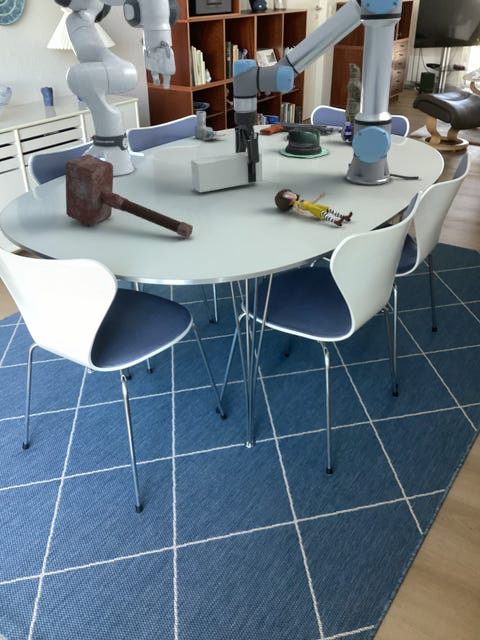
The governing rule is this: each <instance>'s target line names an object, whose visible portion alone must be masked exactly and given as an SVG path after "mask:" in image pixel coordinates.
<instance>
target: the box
mask: <svg viewBox="0 0 480 640" xmlns="http://www.w3.org/2000/svg"><path fill="white" fill-rule="evenodd" d="M247 163H249V159H248V153H247V150H246V152H240V153H235V152H234V153H228V154H220V155H215V156H209V157H203V158H202V157H201V158H195V159H191V160H190V164H191V165H190V166H191V177H192V188H193V189H194V190H196V191H197V192H198V193H205V192H210V191H216V190H221V189H222V190H223V189H227V188H232V187H238V186H239V187H240V186H244V185H250V184H255V183H260V182H263V153H261V152H259V162H258V163H256V182H251V183H249V182H248V164H247Z"/></svg>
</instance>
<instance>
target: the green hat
mask: <svg viewBox="0 0 480 640" xmlns="http://www.w3.org/2000/svg"><path fill="white" fill-rule="evenodd" d="M288 134H289V139H287V140H288V141H287V142H288V143H287V145H286V146H285V147H283V148H281V149H280V150H279V153H280V154H282V155H285V156H289V157H296V158H297V157H298V158H307V159H309V158H310V159H311V158H313V159H314V158H317V157H323V156H326V155H327V154H328V150H326V149H325V148H322V146H321V144H320V142H321V132H319V131H318V130H316V129H311V128H298V129H294V130H291V131H288Z"/></svg>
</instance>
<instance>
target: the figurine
mask: <svg viewBox="0 0 480 640" xmlns="http://www.w3.org/2000/svg"><path fill="white" fill-rule="evenodd" d="M326 196H328V193H327V192H326V191H324V192H323V193H322V192H321V193H320V195H319V197H318V198H316V199H315V200H312V201H306V200H304V199H301V200H300V198H301V195H300V194H299V193H294V192H293V191H292V190H291V189H289V188H283V189H280V190H279V191H278V192H277V193H276V194H275V197H274V204H275V206H276V208H277V209H279V210H281V211H291V210H293V209H295V211H296V212H297V213H299V212H300V210H301V211H306V212H309V213H310V214H311V215H313V216H314V217H316V218H318V219H320V220H323V219H325V220H327V221H328V222H330V223H333V224H335V225H336V226H337V227H342V226H343V224H342V223H343V222H344V221H346V222H348V223H349V222H351V218H352V216H353V215H354V214H353V211H349V213H348V215H346V214H345V215H344V214H342V213H339V212H337V211H336V210H334V209H333V208H331V207H330V206H328V205H321V204H316V203H317V202H318V201H319V200H320V199H323V198H324V197H326ZM330 214H331V215H332V216H334V217H336V218H338V219H334V218H333V217H331V216H330Z"/></svg>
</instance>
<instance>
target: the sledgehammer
mask: <svg viewBox="0 0 480 640" xmlns="http://www.w3.org/2000/svg"><path fill="white" fill-rule="evenodd" d="M81 156H82V155H81ZM81 156H79V157H76V158H73V159H71V160H68V161H67V162H65V208H66V210H65V211H66V212H65V213H66V216H68V218H71V219H72V220H76V221H78V222H80V223H82V224H84V225H87V226H89V227H93V226H95V225H97V224H99V223H101V222H103V221H105V220H106V219H109V218H111V216H112V211H113V209H115V210H119V211H121V212H126V213H128V214H131V215H133V216H134V217H137V218H140V219H142V220H145V221H147V222H149V223H151V224H155V225H157V226H160V227H162V228H164V229H167V230H169V231H171V232H174V233H176V234H177V235H178V236H181V237H183V238H186V239H189V238H190V236H191V235H192V233H193V227H194V226H193V225H192V224H189V223H186V222H184V221H180V220H177V219H174V218H172V217H170V216H168V215H164V214H162V213H159V212H157V211H155V210H153V209H150V208H148V207H146V206H143V205H141V204H138V203H135V202H133V201H131V200H129V199H128V198H126V197H124V196H121V195H120V194H118V193H115V192H114V191H113V190H114V189H113V188H114V176H113V165H112V164H111V163H109V162H107V161H104V160H101V159H99V158H96V157H94V156H91V155H89V154H87V155H84V156H82V157H81Z"/></svg>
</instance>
